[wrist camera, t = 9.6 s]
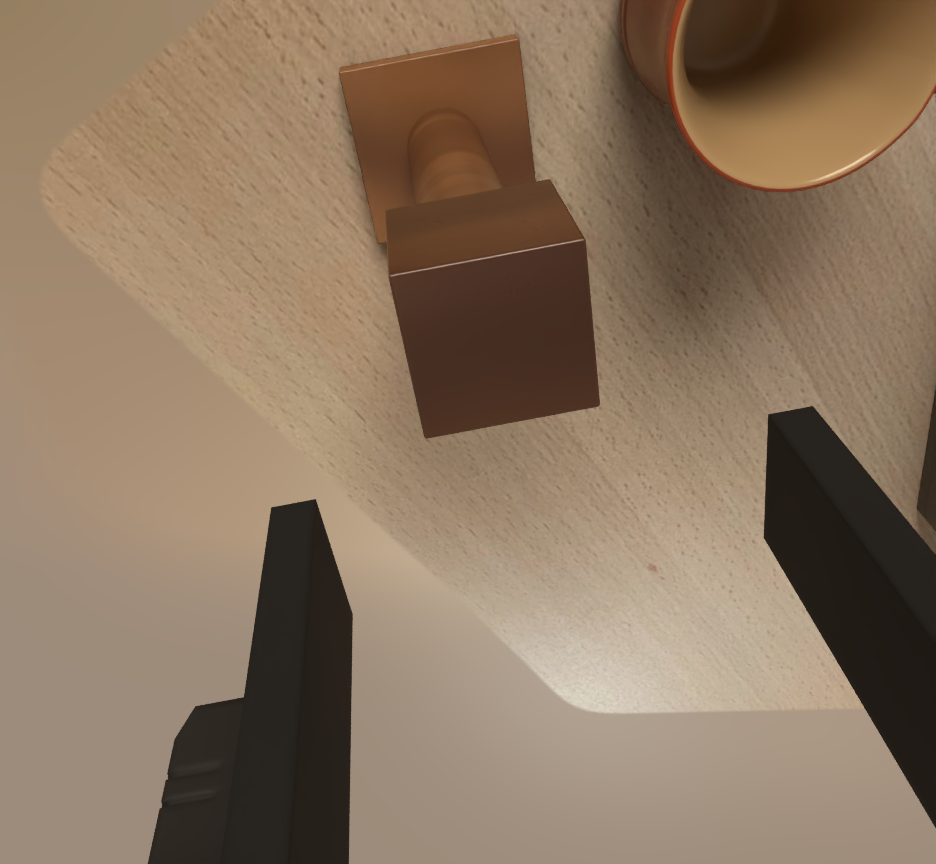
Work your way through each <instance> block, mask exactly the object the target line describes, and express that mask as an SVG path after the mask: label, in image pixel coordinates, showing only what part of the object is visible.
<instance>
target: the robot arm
mask: <svg viewBox="0 0 936 864" xmlns="http://www.w3.org/2000/svg"><path fill="white" fill-rule="evenodd" d="M764 539H765V540H766V542H767V544H768V546H769V547H770V549H771V551H772V552H773V554H774V556H775V557H776V559H777V561H778V562H779V564H780V566H781V568H782V569H783V571H784V573H785V574H786V576H787V578H788V579H789V581H790V583H791V584H792V586H793V588H794V589H795V591H796V593H797V595H798V596H799V598H800V600H801V601H802V603H803V605H804V606H805V608H806V610H807V611H808V613H809V615H810V616H811V618H812V620H813V622H814V623H815V625H816V627H817V628H818V630H819V632H820V633H821V635H822V637H823V638H824V640H825V642H826V644H827V645H828V647H829V649H830V650H831V652H832V654H833V655H834V657H835V659H836V660H837V662H838V664H839V665H840V667H841V669H842V671H843V672H844V674H845V676H846V677H847V679H848V681H849V682H850V684H851V686H852V687H853V689H854V691H855V693H856V694H857V696H858V698H859V699H860V701H861V703H862V704H863V706H864V708H865V709H866V711H867V713H868V714H869V716H870V718H871V720H872V721H873V723H874V725H875V726H876V728H877V729H878V731H879V733H880V735H881V736H882V738H883V740H884V741H885V743H886V745H887V747H888V748H889V750H890V752H891V753H892V755H893V757H894V758H895V760H896V762H897V763H898V765H899V767H900V768H901V770H902V772H903V774H904V775H905V777H906V779H907V780H908V782H909V784H910V785H911V787H912V789H913V791H914V792H915V794H916V796H917V797H918V799H919V801H920V802H921V804H922V806H923V807H924V809H925V811H926V812H927V814H928V816H929V817H930V819H931V821H932V823H933V824H934V826H935V828H936V555H935V554H934V552H933V551H932V550H931V549H930V548H929V546H928V545H927V544H926V543H925V542H924V540H923V539H922V538H921V537H920V536H919V534H918V533H917V532H916V531H915V529H914V528H913V527H912V526H911V525H910V523H909V522H908V521H907V520H906V519H905V517H904V516H903V515H902V514H901V512H900V511H899V510H898V509H897V508H896V506H895V505H894V504H893V503H892V502H891V500H890V499H889V498H888V497H887V496H886V494H885V493H884V492H883V491H882V489H881V488H880V487H879V486H878V485H877V483H876V482H875V481H874V480H873V479H872V477H871V476H870V475H869V474H868V473H867V471H866V470H865V469H864V468H863V466H862V465H861V464H860V463H859V462H858V460H857V459H856V458H855V457H854V456H853V454H852V453H851V452H850V451H849V449H848V448H847V447H846V446H845V445H844V443H843V442H842V441H841V440H840V439H839V437H838V436H837V435H836V434H835V433H834V431H833V430H832V429H831V428H830V426H829V425H828V424H827V423H826V422H825V420H824V419H823V418H822V417H821V416H820V414H819V413H818V412H817V411H816V409H815V408H814V407H813V406H811V407H806V408H801V409H795V410H790V411H785V412H779V413H774V414H769V415H768V437H767V465H766V492H765V520H764ZM352 615H353V614H352V611H351V608H350V605H349V602H348V599H347V596H346V592H345V589H344V586H343V583H342V580H341V577H340V574H339V571H338V567H337V564H336V561H335V558H334V555H333V552H332V549H331V546H330V543H329V539H328V536H327V533H326V530H325V527H324V524H323V521H322V518H321V514H320V511H319V508H318V505H317V502H316V499H314V500H309V501H304V502H298V503H293V504H288V505H283V506H278V507H272V508H271V514H270V521H269V528H268V535H267V542H266V548H265V555H264V563H263V569H262V576H261V583H260V590H259V597H258V604H257V611H256V618H255V625H254V632H253V638H252V646H251V652H250V659H249V666H248V673H247V680H246V687H245V694H244V697H243V698H238V699H233V700H228V701H222V702H217V703H212V704H206V705H200V706H196V707H195V708H194V710H193V711H192V713H191V714H190V716H189V718H188V719H187V721H186V722H185V724H184V726H183V727H182V729H181V730H180V732H179V733H178V735H177V736H176V738H175V740H174V746H173V750H172V754H171V759H170V764H169V769H168V773H167V774H168V780H166V782H165V787H164V792H163V796H162V808H160V810H159V814H158V819H157V824H156V828H155V833H154V838H153V842H152V847H151V851H150V856H149V861H148V864H349V812H350V809H349V808H350V748H351V745H350V743H351V685H352V684H351V683H352V621H353V620H352V619H353V617H352Z"/></svg>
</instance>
